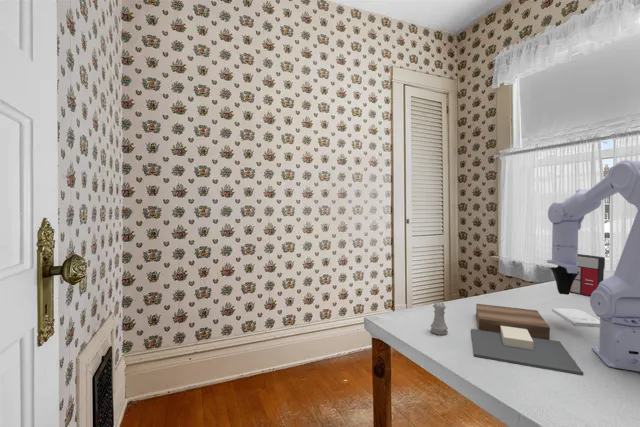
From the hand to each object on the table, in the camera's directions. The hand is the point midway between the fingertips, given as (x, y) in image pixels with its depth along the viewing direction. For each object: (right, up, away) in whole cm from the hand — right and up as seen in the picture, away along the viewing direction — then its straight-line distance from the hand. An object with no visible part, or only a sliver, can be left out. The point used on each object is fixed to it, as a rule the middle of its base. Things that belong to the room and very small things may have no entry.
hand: (563, 293), depth 89 cm
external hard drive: (+9, -10, +6) cm, 15 cm away
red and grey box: (+32, -9, +32) cm, 46 cm away
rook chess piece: (-37, -10, -3) cm, 38 cm away
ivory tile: (-20, -9, -10) cm, 24 cm away
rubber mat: (-21, -10, -14) cm, 27 cm away
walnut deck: (-15, -9, 0) cm, 18 cm away
